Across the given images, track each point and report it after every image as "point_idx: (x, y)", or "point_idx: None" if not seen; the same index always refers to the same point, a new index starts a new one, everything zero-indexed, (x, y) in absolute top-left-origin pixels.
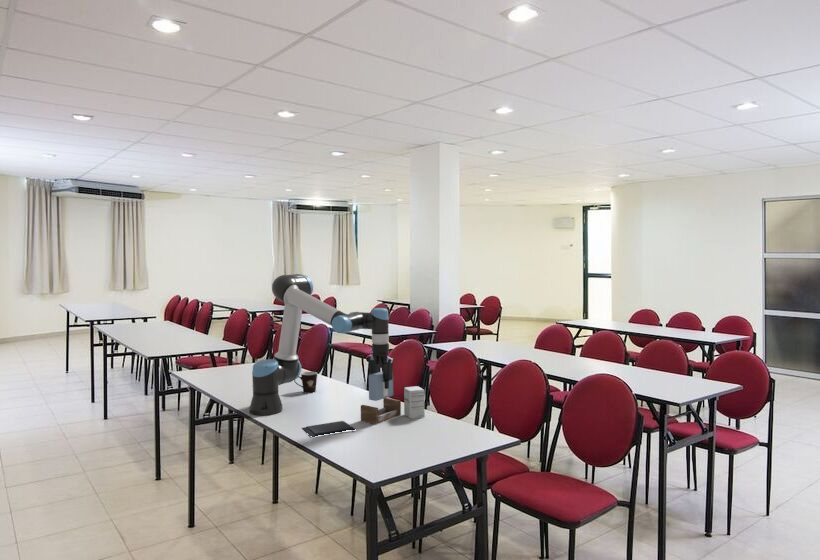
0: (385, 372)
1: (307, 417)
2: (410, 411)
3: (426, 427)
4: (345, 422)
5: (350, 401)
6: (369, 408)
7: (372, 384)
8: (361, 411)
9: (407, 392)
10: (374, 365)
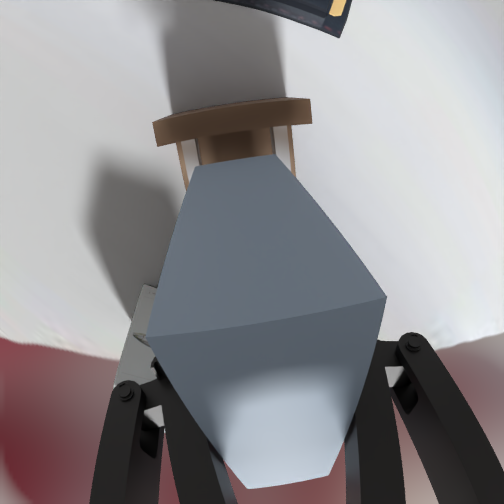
0: (179, 472)
1: (474, 23)
2: (136, 305)
3: (28, 253)
4: (298, 8)
5: (475, 264)
6: (218, 108)
7: (242, 217)
8: (291, 98)
9: (148, 380)
10: (431, 481)
